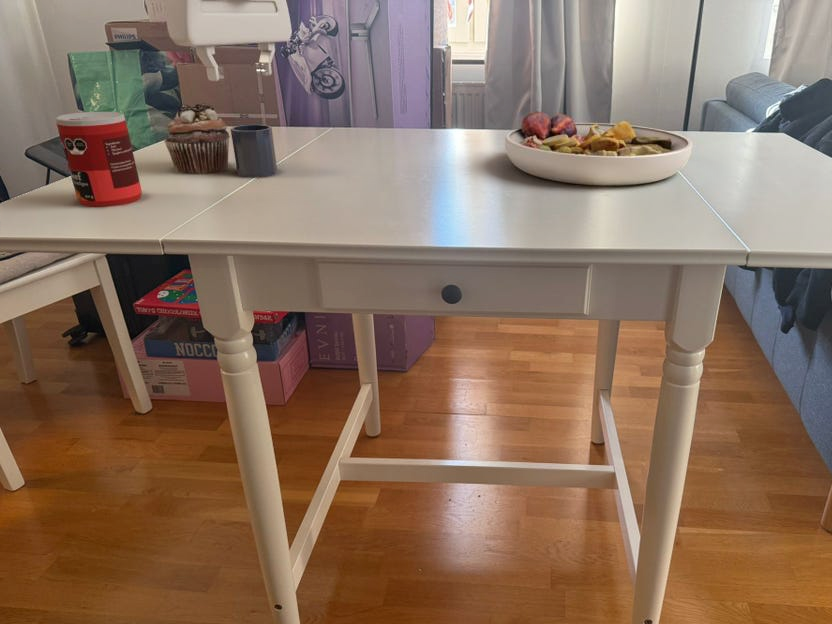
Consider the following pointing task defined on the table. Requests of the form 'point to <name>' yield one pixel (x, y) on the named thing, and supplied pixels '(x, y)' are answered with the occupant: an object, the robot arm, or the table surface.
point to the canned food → (100, 158)
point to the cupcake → (198, 140)
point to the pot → (254, 150)
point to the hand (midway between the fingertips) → (241, 78)
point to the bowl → (595, 151)
